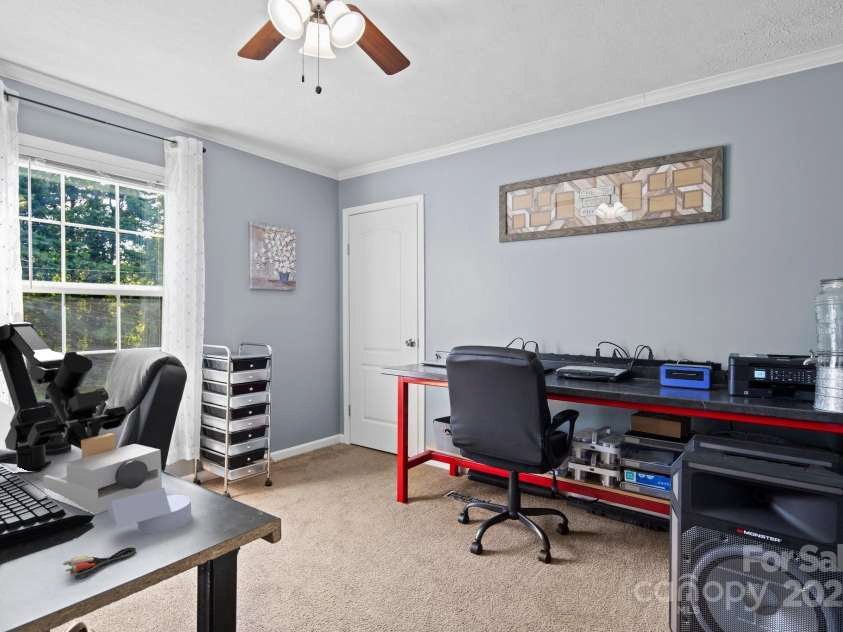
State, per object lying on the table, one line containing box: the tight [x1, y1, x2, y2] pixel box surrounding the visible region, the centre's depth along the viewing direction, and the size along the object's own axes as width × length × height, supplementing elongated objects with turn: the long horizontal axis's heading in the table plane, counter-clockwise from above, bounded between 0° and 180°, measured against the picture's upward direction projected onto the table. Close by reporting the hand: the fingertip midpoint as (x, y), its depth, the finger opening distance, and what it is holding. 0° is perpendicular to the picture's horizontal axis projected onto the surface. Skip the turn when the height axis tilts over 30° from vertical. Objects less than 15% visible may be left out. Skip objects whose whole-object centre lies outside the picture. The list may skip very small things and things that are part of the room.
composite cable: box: [62, 546, 137, 580], centre depth 76 cm, size 10×5×2 cm, turn 130°
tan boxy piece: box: [80, 432, 117, 489], centre depth 104 cm, size 8×12×9 cm
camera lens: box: [37, 398, 72, 457], centre depth 134 cm, size 8×8×15 cm
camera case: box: [43, 443, 163, 516], centre depth 104 cm, size 22×14×9 cm, turn 61°
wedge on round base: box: [107, 486, 192, 534], centre depth 89 cm, size 9×7×13 cm
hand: (96, 454), depth 106 cm, fingers closed, pressing on tan boxy piece
